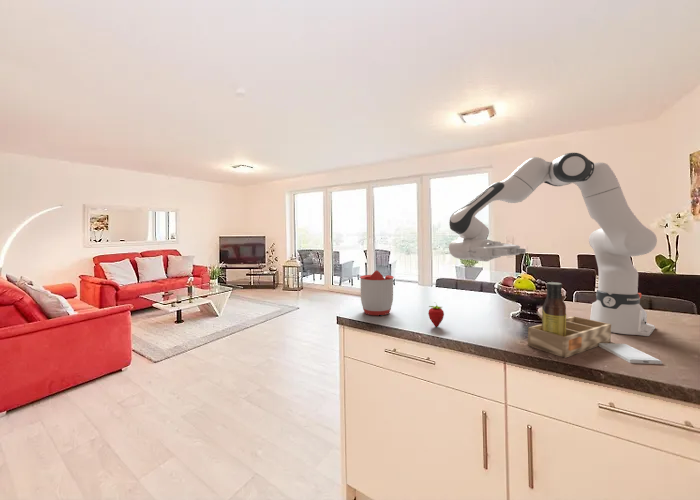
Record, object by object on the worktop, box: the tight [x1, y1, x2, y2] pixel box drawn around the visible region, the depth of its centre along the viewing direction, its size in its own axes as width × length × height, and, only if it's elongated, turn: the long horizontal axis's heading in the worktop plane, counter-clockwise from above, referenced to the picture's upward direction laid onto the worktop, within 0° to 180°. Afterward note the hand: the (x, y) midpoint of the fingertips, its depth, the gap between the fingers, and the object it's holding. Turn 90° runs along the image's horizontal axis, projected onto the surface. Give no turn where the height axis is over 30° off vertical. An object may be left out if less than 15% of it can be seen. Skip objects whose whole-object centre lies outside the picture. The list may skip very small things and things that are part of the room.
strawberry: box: [428, 303, 445, 328], centre depth 116 cm, size 6×8×10 cm
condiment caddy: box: [527, 315, 612, 359], centre depth 97 cm, size 27×12×6 cm, turn 117°
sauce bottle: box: [541, 281, 567, 337], centre depth 93 cm, size 6×6×20 cm
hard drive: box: [598, 342, 663, 365], centre depth 89 cm, size 2×8×12 cm
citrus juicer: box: [359, 270, 394, 316], centre depth 138 cm, size 16×17×20 cm
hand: (516, 251), depth 106 cm, fingers open, 8 cm apart
